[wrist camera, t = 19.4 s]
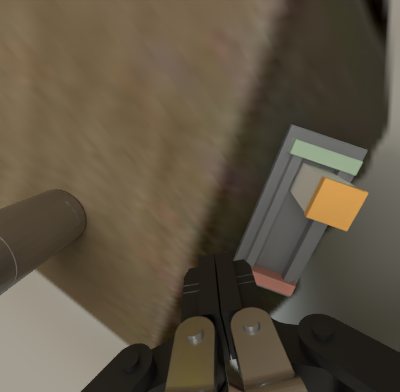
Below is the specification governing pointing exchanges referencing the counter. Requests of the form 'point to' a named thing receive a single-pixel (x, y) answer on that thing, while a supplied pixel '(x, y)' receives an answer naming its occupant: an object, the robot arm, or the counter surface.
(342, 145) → the grey rail base
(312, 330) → the robot arm
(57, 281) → the counter surface
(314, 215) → the orange-capped white pillar
